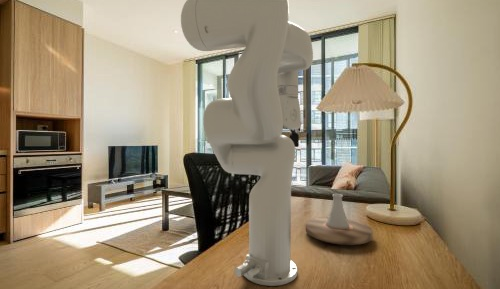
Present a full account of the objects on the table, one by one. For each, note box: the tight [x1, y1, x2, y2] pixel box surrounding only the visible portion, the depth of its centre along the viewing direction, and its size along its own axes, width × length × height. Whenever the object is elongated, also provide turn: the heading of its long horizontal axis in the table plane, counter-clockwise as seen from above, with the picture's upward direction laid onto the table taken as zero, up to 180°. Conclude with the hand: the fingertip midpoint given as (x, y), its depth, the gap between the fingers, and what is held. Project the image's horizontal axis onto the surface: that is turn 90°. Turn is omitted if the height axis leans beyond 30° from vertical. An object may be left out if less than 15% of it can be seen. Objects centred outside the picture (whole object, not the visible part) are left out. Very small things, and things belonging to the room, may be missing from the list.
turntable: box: [304, 216, 374, 246], centre depth 80 cm, size 20×20×2 cm
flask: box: [326, 193, 349, 229], centre depth 80 cm, size 7×7×10 cm
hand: (286, 147), depth 81 cm, fingers open, 9 cm apart
